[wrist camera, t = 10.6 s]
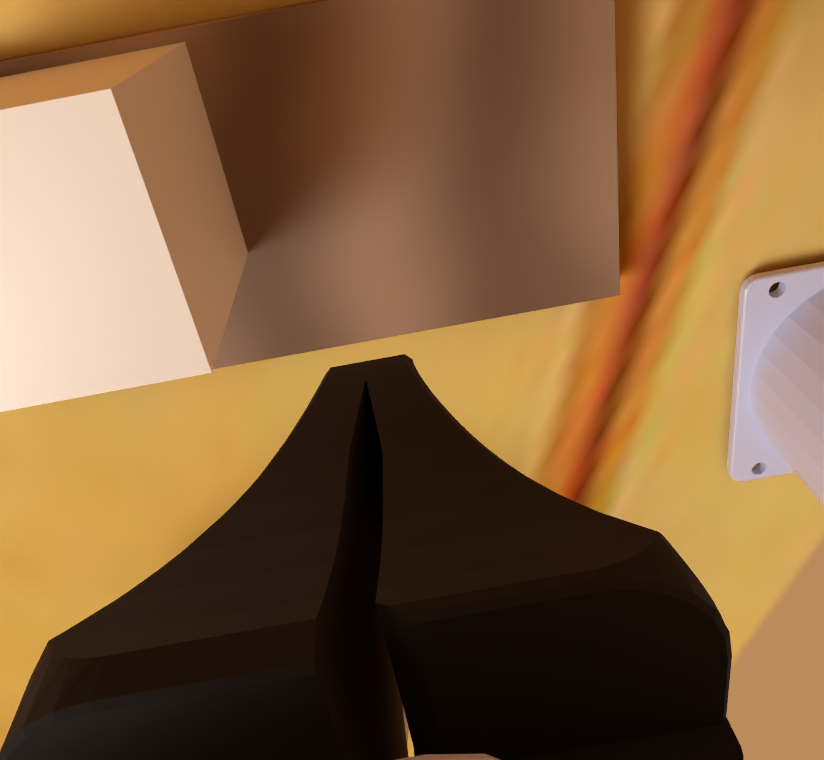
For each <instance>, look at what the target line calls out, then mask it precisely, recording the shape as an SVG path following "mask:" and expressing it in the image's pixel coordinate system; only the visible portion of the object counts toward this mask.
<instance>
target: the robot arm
mask: <svg viewBox="0 0 824 760" xmlns="http://www.w3.org/2000/svg"><path fill="white" fill-rule="evenodd" d="M777 282H779V286H778V288H777V289H776V290H775V291H773V292H769V289H770V287H771V286H772V285H773V284H774V283H777ZM758 463H760V464H759V465H758V466H756V467H754V468H753V466H754V465H755V464H758ZM727 471H728V473H729V474H730V476H731V477H732V478H733V479H734V480H736V481H747V480H753V479H758V478H764V477H770V476H775V475H781V474H786V473H792V472H795V473H796V474H797V475H798V476H799V477H800V479H801V480H802V481H803V482H804V483H805V484H806V486H807V487H808V488H809V489H810V490H811V492H812V493H813V494H814V495H815V496H816V497H817V499H818V500H819V501H820V502H821V503H822V504H823V506H824V261H823V262H817V263H812V264H806V265H801V266H795V267H790V268H784V269H779V270H773V271H768V272H762V273H757V274H754V275H751V276H750V277H748V278H747V279H746V280H745V281H744V282H743V284H742V285H741V289H740V296H739V309H738V323H737V337H736V350H735V364H734V378H733V391H732V405H731V418H730V432H729V446H728V459H727ZM731 658H732V652H731V643H730V634H729V630H728V629H727V627H726V625H725V623H724V621H723V619H722V617H721V614H720V612H719V611H718V609H717V607H716V605H715V604H714V602H713V600H712V598H711V597H710V595H709V594H708V592H707V591H706V589H705V588H704V587H703V585H702V584H701V582H700V581H699V580H698V578H697V577H696V576H695V574H694V573H693V572H692V571H691V569H690V568H689V567H688V565H687V564H686V563H685V561H684V560H683V559H682V558H681V557H680V555H679V554H678V553H677V552H676V550H675V549H674V548H673V547H672V546H671V544H670V543H669V542H668V541H667V540H666V538H665V537H664V536H663V535H662V534H661V533H659V532H657V531H654V530H651V529H648V528H645V527H642V526H639V525H636V524H633V523H630V522H627V521H624V520H621V519H618V518H615V517H612V516H609V515H606V514H603V513H600V512H598V511H595V510H593V509H590V508H588V507H586V506H583V505H581V504H579V503H577V502H574V501H572V500H570V499H567V498H565V497H563V496H561V495H559V494H557V493H555V492H553V491H551V490H550V489H548V488H546V487H544V486H542V485H541V484H539V483H537V482H535V481H534V480H532V479H530V478H528V477H526V476H525V475H523V474H522V473H520V472H519V471H517V470H516V469H514V468H513V467H511V466H510V465H508V464H507V463H506V462H504V461H503V460H502V459H500V458H499V457H498V456H496V455H495V454H494V453H492V452H491V451H490V450H489V449H487V448H486V447H485V446H484V445H483V444H481V443H480V442H479V441H478V440H477V439H476V438H475V437H474V436H472V435H471V434H470V433H469V432H468V431H467V430H466V429H465V428H464V427H463V426H462V425H461V424H460V423H459V422H458V421H457V420H456V419H455V418H454V417H453V416H452V415H451V414H450V413H449V412H448V410H447V409H446V408H445V407H444V406H443V405H442V404H441V403H440V401H439V400H438V399H437V398H436V397H435V396H434V394H433V393H432V392H431V390H430V389H429V388H428V386H427V385H426V384H425V382H424V381H423V379H422V378H421V376H420V375H419V373H418V371H417V370H416V368H415V366H414V363H413V360H412V359H411V358H409V357H408V356H406V355H405V354H403V355H398V356H392V357H387V358H381V359H376V360H370V361H365V362H359V363H354V364H348V365H343V366H337V367H332V368H330V369H329V371H328V372H327V373H326V375H325V376H324V378H323V380H322V382H321V384H320V385H319V387H318V389H317V391H316V393H315V394H314V396H313V398H312V400H311V401H310V403H309V405H308V407H307V408H306V410H305V412H304V413H303V415H302V416H301V418H300V420H299V421H298V423H297V424H296V426H295V427H294V429H293V431H292V432H291V434H290V435H289V437H288V438H287V440H286V441H285V443H284V444H283V445H282V447H281V448H280V450H279V451H278V452H277V454H276V455H275V456H274V458H273V459H272V460H271V462H270V463H269V464H268V466H267V467H266V468H265V470H264V471H263V472H262V474H261V475H260V476H259V477H258V479H257V480H256V481H255V482H254V483H253V484H252V486H251V487H250V488H249V489H248V490H247V491H246V492H245V493H244V494H243V495H242V496H241V497H240V498H239V499H238V501H237V502H236V503H235V504H234V505H233V506H232V507H231V508H230V509H229V510H228V511H227V512H226V513H225V514H224V515H223V516H222V517H221V518H219V519H218V520H217V521H216V522H215V523H214V524H213V525H212V526H210V527H209V528H208V529H207V530H206V531H205V532H204V533H203V534H202V535H200V536H199V537H198V538H197V539H196V540H195V541H194V542H193V543H191V544H190V545H189V546H188V547H187V548H186V549H185V550H183V551H182V552H181V553H180V554H179V555H177V556H176V557H175V558H173V559H172V560H171V561H170V562H168V563H167V564H166V565H164V566H163V567H162V568H161V569H159V570H158V571H157V572H155V573H154V574H152V575H151V576H150V577H148V578H147V579H145V580H144V581H143V582H141V583H140V584H138V585H137V586H136V587H134V588H133V589H131V590H130V591H129V592H127V593H126V594H124V595H123V596H121V597H120V598H118V599H117V600H115V601H114V602H112V603H110V604H109V605H107V606H105V607H104V608H102V609H101V610H99V611H97V612H96V613H94V614H92V615H91V616H89V617H88V618H86V619H84V620H83V621H81V622H79V623H78V624H76V625H75V626H73V627H71V628H70V629H68V630H67V631H65V632H63V633H61V634H60V635H58V636H56V637H54V638H53V639H51V640H49V641H48V643H47V645H46V647H45V649H44V651H43V653H42V655H41V657H40V659H39V661H38V663H37V665H36V667H35V669H34V671H33V673H32V675H31V678H30V680H29V682H28V685H27V687H26V690H25V692H24V695H23V697H22V700H21V702H20V705H19V707H18V710H17V712H16V715H15V717H14V720H13V722H12V724H11V727H10V729H9V732H8V734H7V736H6V739H5V741H4V744H3V746H2V749H1V751H0V760H743V753H742V749H741V746H740V744H739V742H738V740H737V738H736V736H735V734H734V732H733V730H732V728H731V726H730V724H729V721H728V719H727V717H726V711H727V701H728V689H729V680H730V669H731ZM403 708H404V712H405V716H406V719H407V723H408V727H409V731H410V734H411V738H412V742H413V746H414V755H415V756H414V757H408V749H407V740H406V731H405V722H404V713H403Z"/></svg>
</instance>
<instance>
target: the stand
mask: <svg viewBox="0 0 824 760" xmlns="http://www.w3.org/2000/svg"><path fill="white" fill-rule="evenodd" d="M181 42H185V43H186V46H187V50H188V53H189V56H190V60H191V63H192V66H193V70H194V73H195V77H196V80H197V83H198V87H199V90H200V93H201V97H202V100H203V103H204V107H205V110H206V113H207V117H208V120H209V124H210V127H211V130H212V134H213V137H214V140H215V144H216V147H217V150H218V154H219V157H220V161H221V164H222V167H223V171H224V174H225V177H226V181H227V184H228V187H229V191H230V194H231V197H232V201H233V204H234V208H235V211H236V214H237V218H238V221H239V224H240V228H241V231H242V234H243V238H244V241H245V245H246V248H247V251H248V255H247V258H246V262H245V265H244V268H243V271H242V275H241V278H240V281H239V285H238V288H237V291H236V295H235V298H234V301H233V304H232V308H231V311H230V314H229V318H228V321H227V324H226V327H225V331H224V334H223V337H222V341H221V344H220V347H219V350H218V354H217V357H216V360H215V364H214V367H213V369H216V368H222V367H227V366H233V365H238V364H244V363H249V362H255V361H260V360H266V359H271V358H277V357H282V356H288V355H293V354H299V353H304V352H309V351H315V350H320V349H326V348H331V347H337V346H342V345H348V344H353V343H359V342H364V341H370V340H375V339H381V338H386V337H392V336H397V335H403V334H408V333H414V332H419V331H425V330H430V329H436V328H441V327H447V326H452V325H458V324H463V323H469V322H474V321H480V320H485V319H491V318H496V317H502V316H507V315H513V314H518V313H524V312H529V311H535V310H540V309H546V308H551V307H557V306H562V305H568V304H573V303H579V302H584V301H590V300H595V299H601V298H606V297H612V296H617V295H620V271H619V216H618V160H617V105H616V49H615V0H319V1H314V2H308V3H303V4H298V5H293V6H287V7H282V8H277V9H271V10H266V11H261V12H255V13H250V14H245V15H239V16H234V17H229V18H223V19H218V20H213V21H207V22H202V23H197V24H192V25H186V26H181V27H176V28H170V29H165V30H160V31H154V32H149V33H144V34H138V35H133V36H128V37H122V38H117V39H112V40H106V41H101V42H96V43H91V44H85V45H80V46H75V47H69V48H64V49H59V50H53V51H48V52H43V53H37V54H32V55H27V56H21V57H16V58H11V59H6V60H0V77H5V76H10V75H15V74H20V73H25V72H31V71H36V70H41V69H46V68H51V67H57V66H62V65H67V64H72V63H77V62H82V61H88V60H93V59H98V58H103V57H108V56H114V55H119V54H124V53H129V52H134V51H139V50H145V49H150V48H155V47H160V46H165V45H170V44H176V43H181Z"/></svg>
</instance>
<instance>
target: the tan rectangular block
mask: <svg viewBox="0 0 824 760" xmlns="http://www.w3.org/2000/svg"><path fill="white" fill-rule="evenodd" d="M247 255H248V251H247V248H246V245H245V241H244V238H243V234H242V231H241V228H240V224H239V221H238V218H237V214H236V211H235V208H234V204H233V201H232V197H231V194H230V191H229V187H228V184H227V181H226V177H225V174H224V171H223V167H222V164H221V161H220V157H219V154H218V150H217V147H216V144H215V140H214V137H213V134H212V130H211V127H210V124H209V120H208V117H207V113H206V110H205V107H204V103H203V100H202V97H201V93H200V90H199V87H198V83H197V80H196V77H195V73H194V70H193V66H192V63H191V60H190V56H189V53H188V50H187V46H186V43H185V42H181V43H176V44H170V45H165V46H160V47H155V48H150V49H145V50H139V51H134V52H129V53H124V54H119V55H114V56H108V57H103V58H98V59H93V60H88V61H82V62H77V63H72V64H67V65H62V66H57V67H51V68H46V69H41V70H36V71H31V72H25V73H20V74H15V75H10V76H5V77H0V412H3V411H8V410H14V409H19V408H24V407H30V406H35V405H40V404H46V403H51V402H57V401H62V400H67V399H73V398H78V397H83V396H89V395H94V394H100V393H105V392H110V391H116V390H121V389H127V388H132V387H137V386H143V385H148V384H153V383H159V382H164V381H170V380H175V379H180V378H186V377H191V376H196V375H202V374H207V373H212V370H213V367H214V364H215V360H216V357H217V354H218V350H219V347H220V344H221V341H222V337H223V334H224V331H225V327H226V324H227V321H228V318H229V314H230V311H231V308H232V304H233V301H234V298H235V295H236V291H237V288H238V285H239V281H240V278H241V275H242V271H243V268H244V265H245V262H246V258H247Z"/></svg>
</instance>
